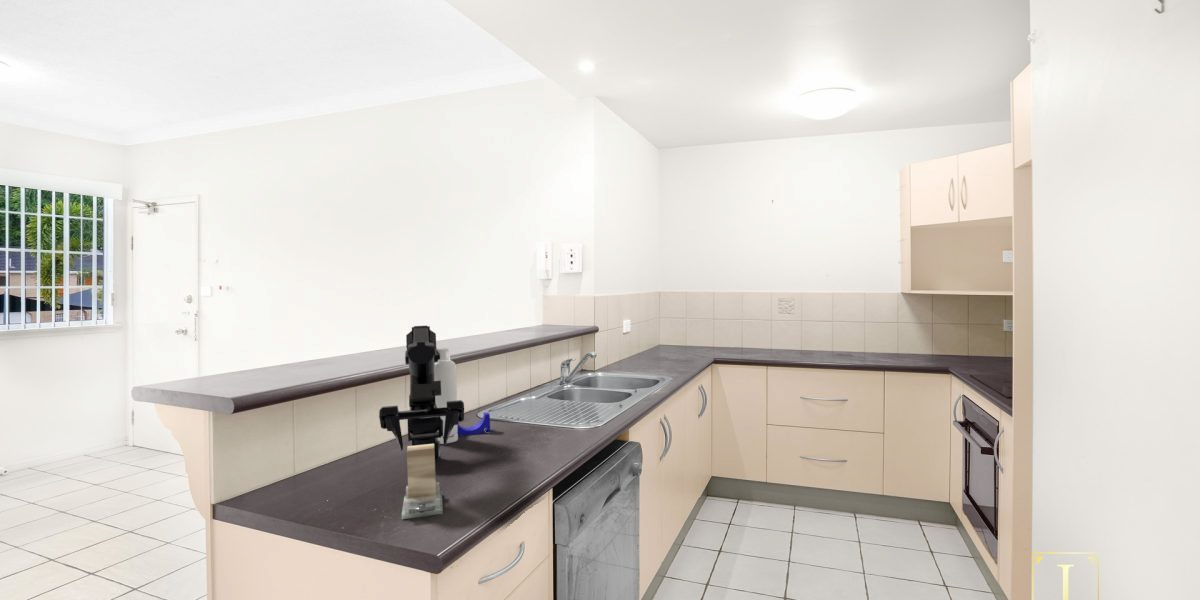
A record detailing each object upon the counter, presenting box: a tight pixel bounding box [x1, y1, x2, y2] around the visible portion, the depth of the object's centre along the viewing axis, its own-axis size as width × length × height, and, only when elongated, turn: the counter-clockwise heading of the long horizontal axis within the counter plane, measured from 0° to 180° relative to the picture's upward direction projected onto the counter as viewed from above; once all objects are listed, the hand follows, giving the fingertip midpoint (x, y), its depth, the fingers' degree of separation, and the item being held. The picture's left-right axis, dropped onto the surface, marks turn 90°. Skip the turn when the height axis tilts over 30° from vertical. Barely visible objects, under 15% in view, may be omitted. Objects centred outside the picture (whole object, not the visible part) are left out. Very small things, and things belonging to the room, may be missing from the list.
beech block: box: [406, 444, 437, 499], centre depth 118 cm, size 4×6×12 cm, turn 107°
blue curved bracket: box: [457, 412, 491, 437], centre depth 177 cm, size 12×4×6 cm, turn 109°
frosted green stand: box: [401, 481, 444, 520], centre depth 118 cm, size 13×8×3 cm, turn 17°
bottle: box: [434, 347, 459, 445], centre depth 169 cm, size 8×8×28 cm
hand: (423, 447), depth 125 cm, fingers open, 9 cm apart
